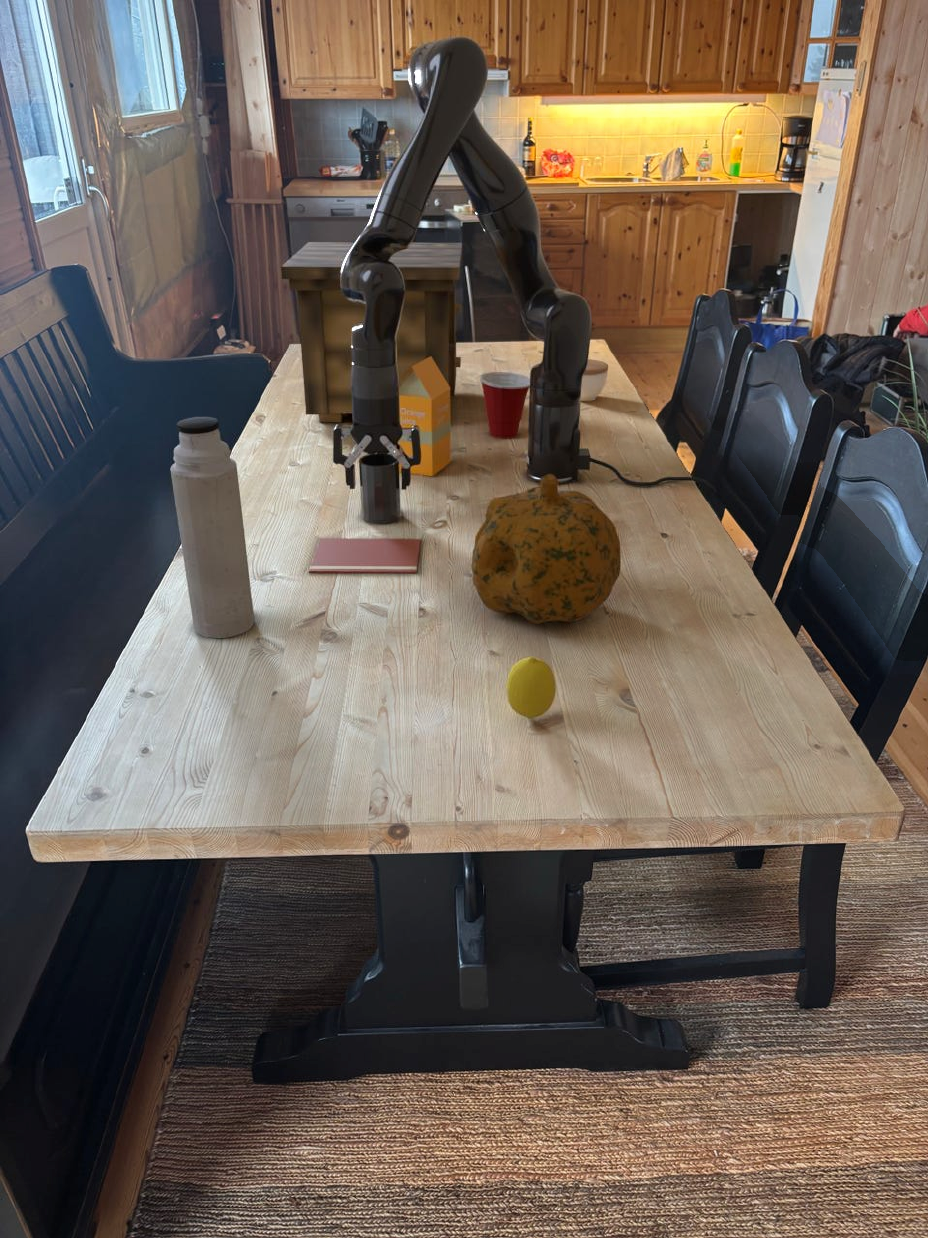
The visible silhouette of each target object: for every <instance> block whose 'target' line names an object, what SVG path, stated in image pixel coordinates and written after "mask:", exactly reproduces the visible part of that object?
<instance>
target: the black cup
mask: <svg viewBox="0 0 928 1238" xmlns="http://www.w3.org/2000/svg"><path fill="white" fill-rule="evenodd" d="M358 471H359V488H360V489H359V491H360V504H361V505H360V507H361V518H362V520H363V521H364V522H366V523H369V524H374V525H384V524H385V525H386V524H392V523H394V522H397V521H399V520H400V519H401V517H402V504H401V502H402V501H401V499H402V497H401V472H400V467H399V462H398V460H397V459H395V458H394V457H393V455H392V454H391V453H387V454H386V455H382V454H378V453H375V454H365V455H363V456H362V457H359V458H358Z"/></svg>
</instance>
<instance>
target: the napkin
mask: <svg viewBox="0 0 928 1238" xmlns="http://www.w3.org/2000/svg"><path fill="white" fill-rule="evenodd" d="M420 545H421V539H420V538H319V540H318V543H317V546H316V549H315V551H314V555H313V557H312V560H311V563H310V566H309V569H308V573H309V574H417V569H418V563H419V562H418V561H419V553H420Z"/></svg>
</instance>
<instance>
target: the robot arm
mask: <svg viewBox="0 0 928 1238" xmlns="http://www.w3.org/2000/svg"><path fill="white" fill-rule="evenodd" d="M408 61H409V62H408V68H407V76H408V83H409V87H410V90H411V92H412V95H413V97H414V99H415V101H416V103H417V105H418V106H419V108H420V110H421V112H422V113H423V116H422V118H421V120H420V123H419V125H418V127H417V129H416V130H415V131H414V133H413V136H412V137H411V138H410V140H409V142H408V143H407V145H406V146H405V148H404V150H403V151H402V152H401V154H399V157H398V158H397V160H396V161H395V163H394V164H393V165H392V166H391V169H390V170H389V172H388V173H387V175H386V178H385V180H384V182H383V184H382V185H381V189H380V191H379V193H378V197H377V199H376V202H375V204H374V207H373V209H372V212H371V216H370V219H369V220H368V223H367V225H366V226H365V228H364V229H363V230H362V232H361V233H360V234H359V236H358V238H357V239H356V241H355V244H354V245H353V247H352V249H351V250H350V252H349V253H348V255H347V257H346V259H345V261H344V263H343V266H342V270H341V275H340V285H341V290H342V292H343V294H344V296H345V297H346V298H347V299H348V300H350V301H351V302H353V303H356V304H360V305H364V306H366V312H365V318H364V322H361V323H358V324H357V325H355V326H354V327H353V329H352V333H351V349H352V372H351V391H352V413H351V414H352V425H351V426H343V425H342V424H340V423H338V424H336V425H335V426H334V429H333V432H332V462H333V463H334V464H335V465H341V466H343V467H344V471H345V475H344V476H345V484H346V486H348V487H349V489H350V490H355V489H356V485H357V484H356V465H355V464H356V463H355V462H356V461H357V460H358V459H359V458H360V456H361V455H362V453H363V452H364V453H366V455H369V454H376V453H378V454H382V455H386V454H392V455H393V457H394V458H395V459H397V460H398V462H399V463H400V464H401V465H402V468H401V472H400V480H401V490H402V491H403V490H404V491H406V490H407V487H410V485H411V479H412V477H411V474H412V473H411V469H410V468H411V467H412V466H414V465H419V464H420V463H421V445H420V431H419V427H418V426H417V425H414V426H413V427H412V428H402V426H401V424H400V409H399V374H398V368H397V342H396V335H397V331H398V327H399V323H400V319H401V314H402V309H403V304H404V299H405V283H404V278H403V275H402V273H401V271H400V269H399V268H398V267H397V266H396V265H395V264H394V263H392V262H390V261H389V260H390V259H391V257H392V256H393V254H394V253H396V252H398V251H401V250H405V249H407V248H408V247H409V246H410V245H411V243H413V241H414V239H415V237H416V234H417V231H418V229H419V226H420V223H421V221H422V218H423V215H424V213H425V211H426V208H427V204H428V201H429V199H430V197H431V194H432V192H433V190H434V188H435V185H436V183H437V181H438V179H439V176H440V174H441V172H442V170H443V168H444V166H445V164H446V162H447V160H448V158H449V160H450V162H451V164H452V166H453V168H454V171H455V173H456V175H457V178H458V179H459V180H460V183H461V185H462V187H463V189H464V191H465V193H466V196H467V197H468V199H469V201H470V204H471V207H472V209H473V211H474V213H475V215H476V217H477V219H478V221H479V224H480V226H481V228H482V230H483V232H484V234H485V236H486V238H487V240H488V241H489V243H490V245H491V247H492V249H493V252H494V253H495V256H496V258H497V260H498V262H499V264H500V266H501V268H502V269H503V272H504V273H505V276H506V277H507V279H508V282H509V285H510V288H511V290H512V293H513V295H514V298H515V301H516V305H517V307H518V310H519V313H520V315H521V318H522V322H523V324H524V326H525V328H526V330H527V331H528V333H529V334H531V336H532V337H533V338H535V339H536V340H537V341H539V342H541V343H543V350H542V360H541V362H540V363H537V364H535V365H533V366H532V367H531V368H530V372H529V378H530V387H529V391H528V392H529V397H528V399H529V400H528V422H527V423H528V424H527V425H528V426H527V429H528V430H527V452H526V454H525V461H526V470H525V475H526V477H527V478H528V479H529V480H531V481H532V482H536V483H539V484H541V478H542V477H544V476H545V475H548V474H553V475H554V476H555V477H556V479H558V482H559V483H558V485H559V484H566V483H570V482H578V480H579V471H590V470H591V463H592V464H595V465H598V466H601V467H604V468H607V469H608V470H610V471H612V472H613V473H614V475H615V476H616V477H617V478H618V479H619V480H620V481H622V482H624V483H625V484H628V485H631V486H637V487H653V486H656V485H659V484H661V483H664V482H678V481H679V482H682V481H689V482H696V483H700V484H702V485H703V486H705V487H707V488H708V490H710V491H711V492H713V493H717V492H718V491H717V489H716V488H715V486H713V485H712V484H711V483H710V482H708V481H707V480H705V479H704V478H701V477H697V476H666V477H665V476H664V477H662V478H659V479H656V480H653V481H634V480H631V479H628V478H626V477H625V476H623V474H621V472H620V471H619V470H618V469H617V468H616V467H615V466H613V465H611V464H610V463H607V462H606V461H605V462H604V461H601V460H599V459H596V458H593V457H592V456H591V452H590V449H589V448H581V429H580V422H581V421H580V420H581V404H582V403H581V402H582V401H581V387H582V377H583V374H584V372H585V370H586V367H587V363H588V359H589V353H590V347H591V337H592V336H591V335H592V324H593V323H592V322H593V320H592V311H591V307H590V304H589V303H588V301H587V300H586V299H585V298H584V297H583V296H582V295H579V294H577V293H574V292H571V291H568V290H565V289H561V288H560V287H559V285H558V284H557V282H556V280H555V279H554V277H553V275H552V273H551V270H550V269H549V267H548V265H547V262H546V260H545V258H544V255H543V250H542V232H541V231H542V230H541V219H540V212H539V209H538V206H537V204H536V201H535V199H534V197H533V195H532V192H531V190H530V187H529V185H528V182H527V180H526V179H525V177H524V175H523V173H522V172H521V170H520V169H519V167H518V166H517V164H516V163H515V162H514V160H513V159H512V158H511V157H510V156H509V155H508V154H507V152H506V151H505V150H504V149H503V148H502V147H501V146H500V145H499V144H498V143H497V142H496V141H495V140H494V139H493V137H492V136H491V135H490V134H489V133H488V131H487V129H485V127H484V126H483V124H482V122H481V121H480V119H479V116H478V115H477V113H476V111H475V109H476V107H477V105H478V103H479V102H480V100H481V98H482V95H483V93H484V91H485V88H486V85H487V83H488V77H489V67H488V66H489V65H488V61H487V57H486V55H485V51H484V50H483V49H482V47H481V46H480V45H479V43H478V42H476V41H475V40H473V39H472V38H469V37H467V36H451V37H446V38H441V39H435V40H431V41H427V42H425V43H423V44H421V45H419V46H417V47H416V48H415V49H414V50H413V52H412V54H411V55H410V58H409V60H408ZM349 435H350V437H351V438H352V439H353V440H354V441H355V443H356V444H355V445H354V446H353V447H352V449H351V451H350V452H349V453H348V455H346V454H343V442H344V441H345V440H347V436H349ZM402 435H405V436H406V437H407V440H408V441H410V442H412V452H413V456H410V457H408V455H407V454H406V453H405V452H404V450H403V448H402V447H401V445H400V444H399V443H398V441H399V440H400V438H401V437H402Z"/></svg>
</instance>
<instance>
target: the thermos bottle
mask: <svg viewBox="0 0 928 1238" xmlns="http://www.w3.org/2000/svg"><path fill="white" fill-rule="evenodd" d="M176 427H177V430H178V432H179V433H178V439H179V444H178V445H177V446H175V447H174V448H173V457H172V458H173V461H174V463H173V464H172V465H171V467H170V476H171V483H172V489H173V498H174V504H175V509H176V510H175V511H176V515H177V516H176V517H177V524H178V531H179V538H180V543H181V551H182V557H183V563H184V570H185V571H184V572H185V578H186V583H187V592H188V598H189V605H190V612H191V617H192V618H191V619H192V623H193V624H192V626H193V629H194V631H195V632H196V633H197V634H198V635H199V636H202V637H206V638H213V639H226V638H231V637H236V636H238V635H241V634H244V633H246V632H247V631H249V630H250V629H251V628H252V627H253V626H254V624H255V614H254V604H253V598H252V597H253V596H252V590H251V589H252V588H251V579H250V571H249V562H248V554H247V553H248V552H247V544H246V535H245V527H244V525H245V524H244V518H243V510H242V509H243V507H242V501H241V493H240V492H241V491H240V482H239V475H238V465H237V461H236V460H234V459H233V458H231V449H230V446H229V444H228V443H226V442H225V441H222V439H221V433H220V431H219V428H220V423H219V420H218V419H217V418H216V417H210V416H194V417H193V416H192V417H188V418H183V419H181V420H179V421H178V422H177V423H176Z"/></svg>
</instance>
